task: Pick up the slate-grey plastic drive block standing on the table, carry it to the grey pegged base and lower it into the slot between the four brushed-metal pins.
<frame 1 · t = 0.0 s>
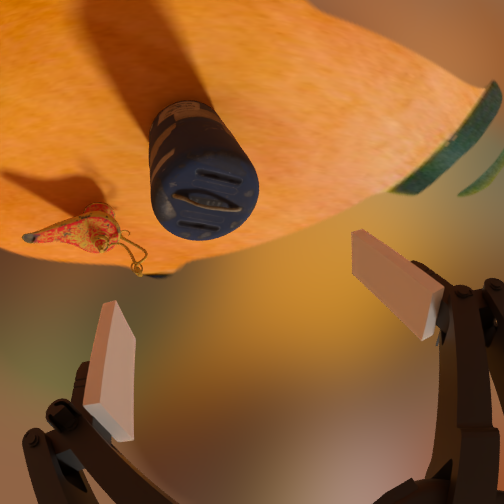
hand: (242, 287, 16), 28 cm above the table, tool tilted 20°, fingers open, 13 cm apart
magic lamp: (88, 214, 40), on the table
canister: (184, 131, 36), on the table
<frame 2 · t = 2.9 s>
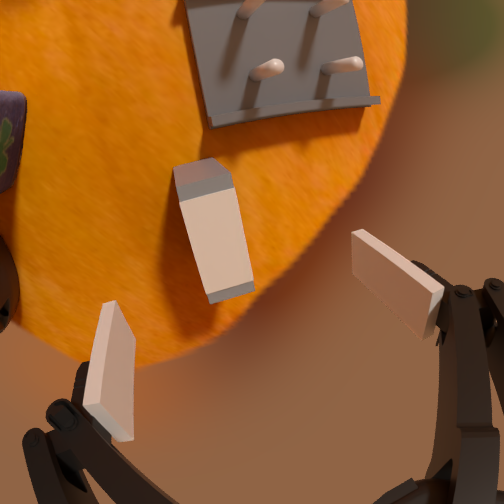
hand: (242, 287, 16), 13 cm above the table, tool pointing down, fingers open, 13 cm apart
grey pegged base: (282, 42, 22), on the table
flask: (12, 141, 19), on the table
drive: (204, 209, 27), on the table
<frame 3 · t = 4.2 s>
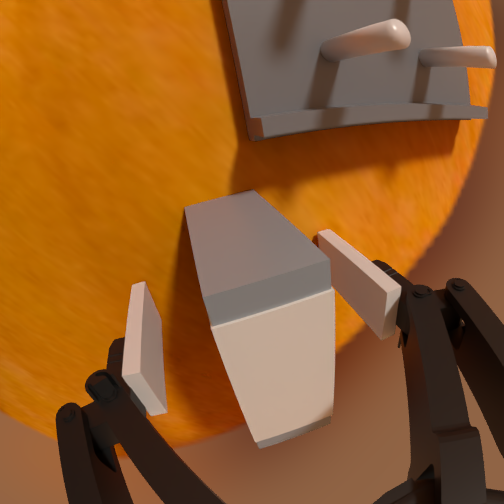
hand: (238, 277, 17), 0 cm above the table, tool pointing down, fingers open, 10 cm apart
grey pegged base: (363, 9, 12), on the table
drive: (236, 274, 17), on the table
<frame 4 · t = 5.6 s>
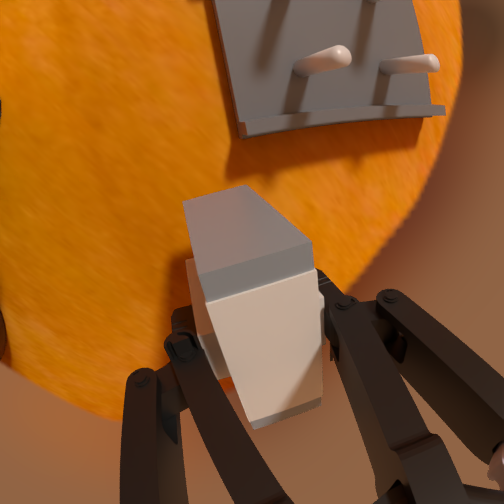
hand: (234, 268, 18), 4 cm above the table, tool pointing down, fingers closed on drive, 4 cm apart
grey pegged base: (332, 30, 16), on the table
drive: (231, 265, 18), point 4 cm above the table, touching gripper
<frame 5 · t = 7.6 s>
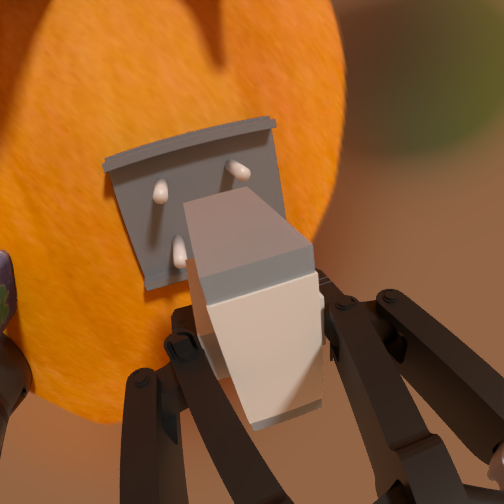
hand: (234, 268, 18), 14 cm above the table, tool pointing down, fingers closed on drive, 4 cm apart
grey pegged base: (202, 200, 30), on the table
flask: (7, 283, 27), on the table
drive: (232, 267, 18), point 14 cm above the table, touching gripper
when the fingers open (2 cm above the table, at t = 9.5 s): drive stays where it is, resting on grey pegged base.
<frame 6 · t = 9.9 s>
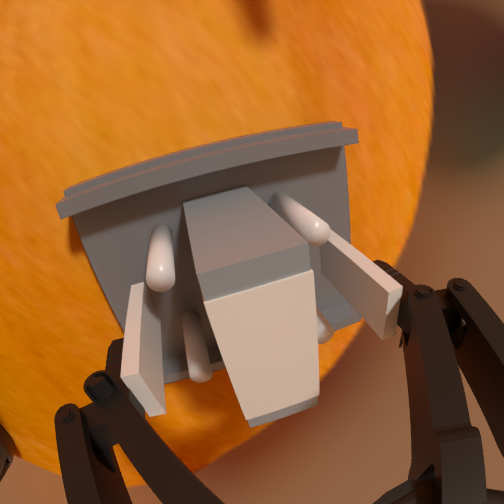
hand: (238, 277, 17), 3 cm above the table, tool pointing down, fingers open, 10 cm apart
grey pegged base: (228, 256, 19), on the table
drive: (231, 265, 18), point 1 cm above the table, touching grey pegged base
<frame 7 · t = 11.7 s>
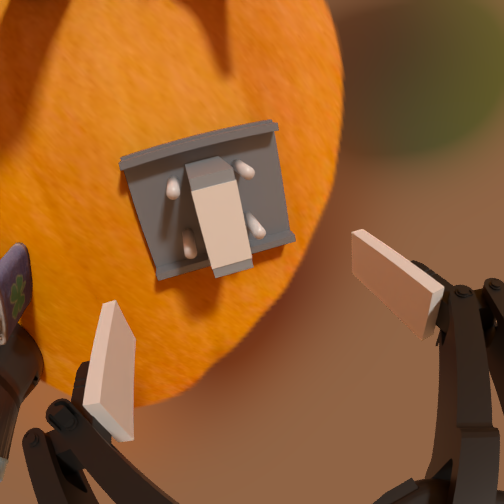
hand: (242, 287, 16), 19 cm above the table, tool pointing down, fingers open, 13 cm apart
grey pegged base: (210, 197, 33), on the table
flask: (23, 274, 30), on the table
drive: (210, 200, 32), point 1 cm above the table, touching grey pegged base
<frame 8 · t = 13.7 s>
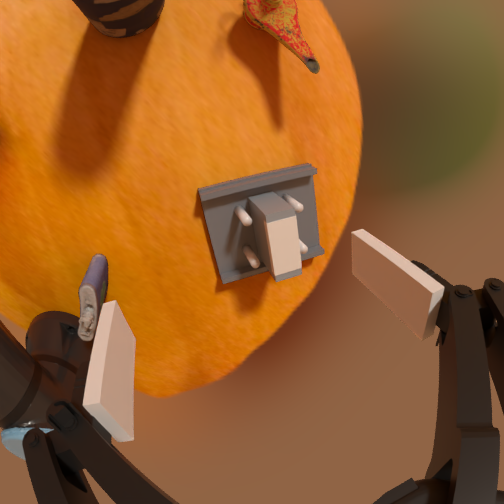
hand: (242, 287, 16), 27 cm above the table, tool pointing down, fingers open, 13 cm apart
magic lamp: (266, 24, 32), on the table
grey pegged base: (263, 221, 44), on the table
canister: (128, 10, 27), on the table
flask: (99, 280, 41), on the table
drive: (265, 223, 43), point 1 cm above the table, touching grey pegged base
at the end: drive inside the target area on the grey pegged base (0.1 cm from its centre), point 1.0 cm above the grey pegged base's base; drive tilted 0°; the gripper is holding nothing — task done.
